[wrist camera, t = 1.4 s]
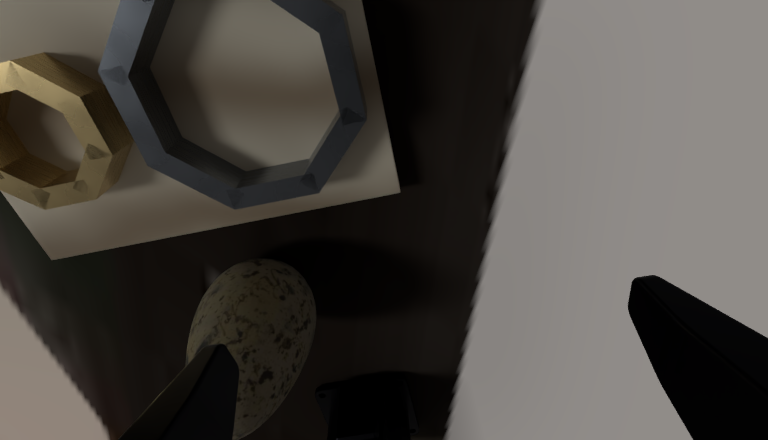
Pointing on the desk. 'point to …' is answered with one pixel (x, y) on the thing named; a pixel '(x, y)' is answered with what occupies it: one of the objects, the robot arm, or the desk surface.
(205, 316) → the decorative egg
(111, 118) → the narrow collar
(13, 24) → the fitting board
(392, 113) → the desk surface
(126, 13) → the collar
